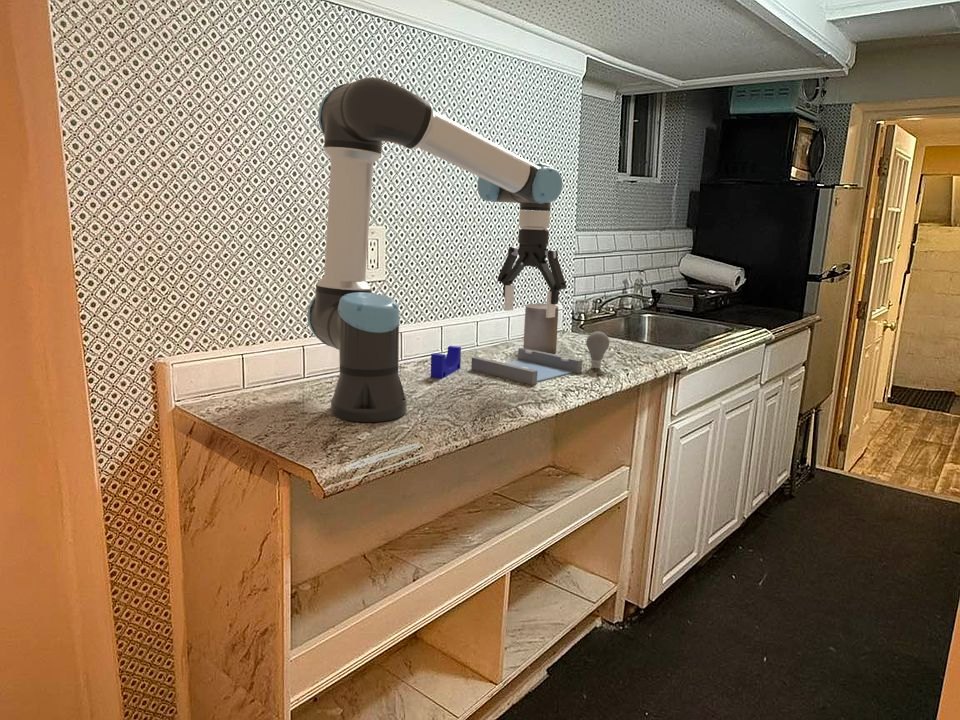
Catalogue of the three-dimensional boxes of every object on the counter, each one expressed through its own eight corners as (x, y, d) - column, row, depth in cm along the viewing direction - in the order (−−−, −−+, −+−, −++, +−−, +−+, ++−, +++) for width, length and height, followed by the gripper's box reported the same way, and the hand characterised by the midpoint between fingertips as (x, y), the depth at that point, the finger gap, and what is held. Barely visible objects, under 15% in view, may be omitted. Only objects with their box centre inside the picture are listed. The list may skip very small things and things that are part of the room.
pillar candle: (551, 348, 206) (554, 299, 203) (559, 355, 197) (562, 303, 194) (519, 348, 205) (522, 298, 202) (526, 355, 196) (529, 303, 192)
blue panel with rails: (532, 384, 163) (532, 371, 162) (471, 369, 176) (471, 357, 175) (581, 372, 177) (582, 360, 177) (522, 358, 191) (522, 347, 190)
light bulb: (589, 371, 179) (591, 333, 177) (581, 365, 185) (583, 329, 182) (610, 370, 180) (613, 333, 178) (602, 365, 186) (605, 329, 184)
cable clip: (444, 367, 178) (444, 345, 177) (460, 369, 176) (461, 346, 175) (425, 377, 167) (425, 353, 166) (441, 379, 165) (442, 355, 164)
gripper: (584, 231, 163) (578, 319, 168) (505, 226, 180) (501, 306, 184) (566, 230, 158) (560, 321, 162) (486, 226, 174) (482, 308, 179)
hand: (528, 313), depth 173 cm, fingers open, 13 cm apart
